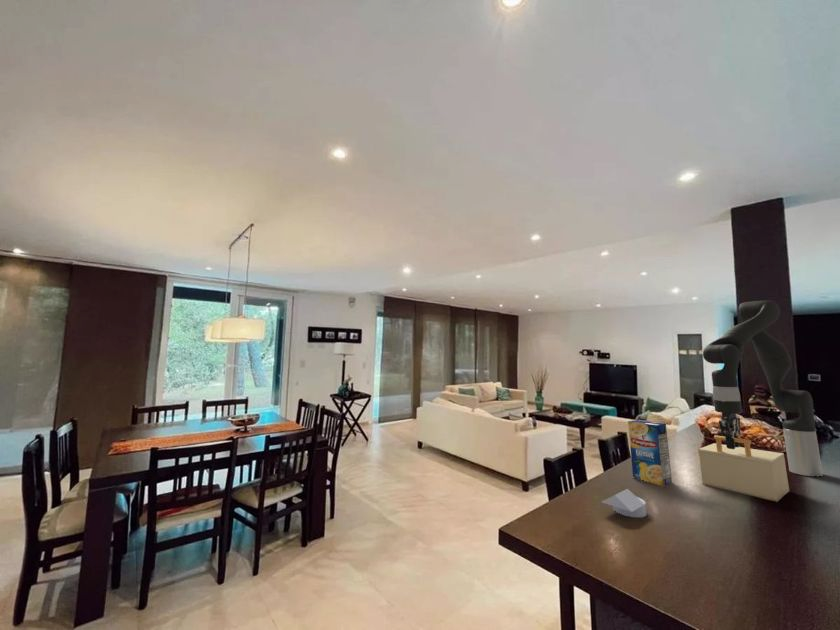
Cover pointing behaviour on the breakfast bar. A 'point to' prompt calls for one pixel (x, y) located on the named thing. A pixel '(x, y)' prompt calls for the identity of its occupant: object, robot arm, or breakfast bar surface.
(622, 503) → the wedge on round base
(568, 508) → the breakfast bar surface
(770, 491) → the carton
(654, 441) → the blue cardboard box
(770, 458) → the lid flap
